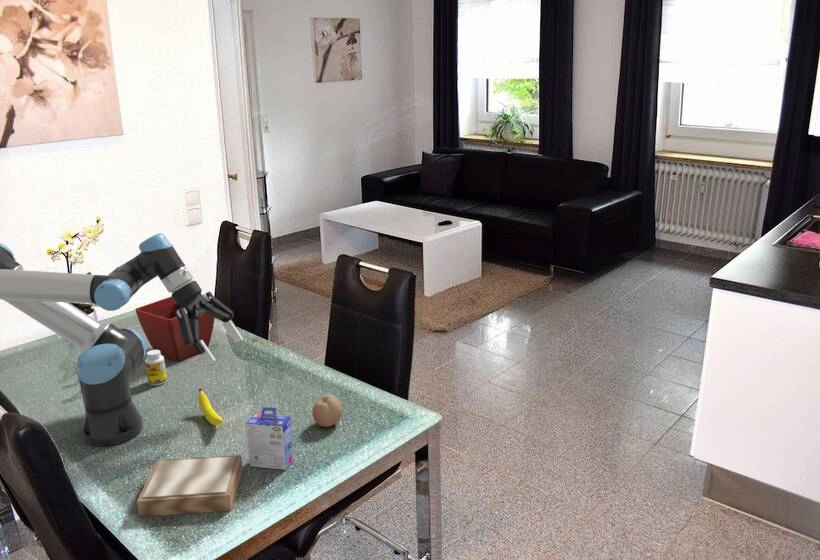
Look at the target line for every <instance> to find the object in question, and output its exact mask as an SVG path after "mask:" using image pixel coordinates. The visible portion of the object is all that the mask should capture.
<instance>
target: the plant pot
mask: <svg viewBox="0 0 820 560" xmlns="http://www.w3.org/2000/svg"><path fill="white" fill-rule="evenodd" d="M181 308H182V307H181V305H177V304H176V302H175V301H174V299H173V298H172V295H171V296H169V297H166V298H163V299H160V300H157V301H154V302H151V303H148V304H145V305H141V306H139V307H136V308H135V313H136V317H137V318H138V321H139V324H140V326H141V329H142V330H143V333H144V335H145V337H146V339H147V341H148V343H149V345H150V346H151V348H152V350H159V351H160V353H161V355H162V356H163V357H164V358H167V359H170V360H173V361H176V362H180V361H183V360H185V359H188V358H190V357H192V356H195V355H196V354H198V352H197V351H196V349H195V348H194V346H193V345H192V346H189V345H188V346H185V345H184V341H183V337H182V333H181V329H180V325H179V321H178V319H177V317H176V315H175V312H176V311H177V310H179V309H181ZM215 319H216V318H214V317H212V316H210V315H208V314H203V315H201V316H200V317H199V319H198V325H199V341H201V340H203V342H204V343H205V345H206V346H207V348H208V349H209V345H210V343H211V339H212V336H213V329H214V326H215ZM188 340H189V339H188Z"/></svg>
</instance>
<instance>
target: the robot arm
mask: <svg viewBox="0 0 820 560" xmlns="http://www.w3.org/2000/svg"><path fill="white" fill-rule="evenodd" d="M138 249H139V251H140V253H139V254H137V255H136V256H135V257H133V258H131V259H130V260H128V261H126V262H125V263H123V264H121V265H120V266H117V267H116V268H115V269H113V270H112V271H111V272H110V273H108V275H107V274H106V275H104V274H91V273H90V274H89V273H88V274H87V273H75V272H74V273H72V272H55V271H54V272H53V271H41V270H40V271H38V270H37V271H36V270H24V267H23V265H22V264H20V263H19V262H18V261H17V260H16V257H15V254H14V253H13V251H12V249H10V248H9V247H8V246H6V245H5V244H3V243H1V242H0V300H4V302H6V303H7V304H9V305H11V306H12V307H14V308H15V309H17V310H18V311H21V312H22V313H23V314H25V315H27V316H28V317H30V318H32V319H33V320H35V322H38V323H40V324H41V325H42V326H45V327H46V328H47V329H49V330H50V331H52V332H53V333H55V334H57V335H59V336H60V337H61V338H63V339H64V340H66V341H68V343H71V344H72V345H74V346H76V347H78V349H80V350H81V353H80V354H79V355H78V357H77V359H76V362H75V363H76V364H75V365H76V376H77V379H78V382H79V383H78V384H79V388H80V392H81V396H82V401H83V407H84V417H83V423H82V429H81V434H82V439H83V442H84V443H86V444H87V445H89V446H91V447H110V446H115V445H119V444H122V443H124V442H127V441H129V440H132V439H133V438H135V437H136V436H137V435H139V434H140V433H141V432H142V430H143V429H144V422H143V416H142V415H141V413H140V412H139V410H138V409H137V407H136V404H135V403H134V402H133V399H132V398H133V397H132V393H131V389H130V380H131V379H132V377H133V376H134V375H135V373H136V371H137V370H138V368H140V366H141V365H142V364H143V361H144V359H145V357H146V355H147V346H146V342H145V339H144V338H143V336H142V335H141V334H140V333H139V332H138V331H136V330H134V329H132V328H129V327H117V326H116V325H115V324H113V323H111V322H107V323H101V322H99V321H98V320H96V319H95V318H93V317H92V316H90V315H89V314H87V313H85V312H84V311H82V310H81V309H79V307H77V306H75V305H73V304H82V305H83V304H84V305H86V304H87V305H97V306H99V308H101V309H103V310H105V311H108V312H115V311H117V310H119V309H121V308H123V307H124V306H125V305H126V304H128V302H129V301H130V299H131V298H132V297H134V295H135V294H136V293H137V292H138V290H139V289H141V288H142V287H143V286H144V285H146V284H147V283H149V282H150V281H151V280H154V279H156V278H157V277H158V278H159V279H160V281H161V283H162V284H163V286H164V287H165V289H166V291H167V292H168V293H171V296H172V298H173V299H174V301H175V302H176V304H177V305H181V307H182V308H181V309H179V310H177V311H176V312H175V315H176V317H177V319H178V321H179V325H180V329H181V333H182V337H183V341H184V345H185V346H188V345H189V346H192V345H193V346H194V348H195V349H196V351H197V352H198V353H197V354H198V355H200V356H201V357H202V359H203V360H204V362H205V364H206V365H207V366H208V365H210V364H212V363H213V362H216V361H217V360H216V358H215V357H214V355H213V353H212V352H211V350H210V349H209V347H208V348H207V346H206V345H205V343H204V342H203V340H201V341H199V325H198V319H199V317H200V316H201V315H203V314H208V315H210V316H212V317H214V318H215V319H216V320H219V321H221V322H223V324H222V325H223V327H224V328H225V330H226V332H227V333H228V335H229V336H230V338H231V339H232V341H233V342H234V343H235V344H237V343H239V342H241V341H242V340H244V337H243V336H242V334H241V333H240V331H239V330H238V328H237V325H236V324H235V322H234V321H233V320H232V319H234V311H233V310H232V309H230V308H229V307H228V306H227V305H225V304H224V303H223V302H221V301H220V300H219V299H217V298H216V297H215V296H214V295H213V294H212V292H211V291H208V292H206V293H204V294H202V291H203V290H202V288H201V286H200V284H198V282H197V280H193V279H194V276H193V275H192V273H191V272H190V270H189V269H188V268H187V266H186V263H185V262H183V260H182V259H181V257H180V256H179V255H180V254H179V253H178V252H177V250H176V249H175V247H174V246H173V244H172V243H171V242H170V240H169V239H168V238H167V237H166V235H165V234H164V233H156V234H153V235H152V236H149V237H148V238H147V239H145V240H143V241H142V242H140V243H139V244H138ZM188 339H189V340H188Z"/></svg>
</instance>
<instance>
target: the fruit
mask: <svg viewBox="0 0 820 560" xmlns="http://www.w3.org/2000/svg"><path fill="white" fill-rule="evenodd" d="M311 413H312V417H313V420H314V421H315V422H316V424H317V425H318V426H320V427H322V428H323V427H324V428H330V427H331V426H335V425H336V424H337V423H338V422H339V421H340V419H341V418H342V415H343V406H342V403H341V401H340V400H339V399H338V398H337V397H336V396H335V395H332V394H325V395H322V396H320V397H319V398H318V399H317V400H316V402H315V403H314V404H313V407H312V412H311Z"/></svg>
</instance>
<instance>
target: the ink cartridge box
mask: <svg viewBox="0 0 820 560" xmlns="http://www.w3.org/2000/svg"><path fill="white" fill-rule="evenodd" d="M261 409H262V410H261V413H254V414H252V415H251V416H250V417H249V419H248V420H247V421H246V422H245V430H246V439H247V440H246V441H247V449H248V450H247V451H248V460H249V461H248V462H249V467H251V468H264V469H273V470H283V471H286V470H287V469H288V468H289V467H290V465H291V464H292V463H293V461H294V460H295V454H294V453H295V452H294V444H293V443H294V442H293V434H292V433H293V432H292V423H291V420H292V419H291V415H282V414H281V415H279V414H277V408H276V407H265V406H263V407H262V408H261ZM268 411H269V412H272V413H265V412H268Z"/></svg>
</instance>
